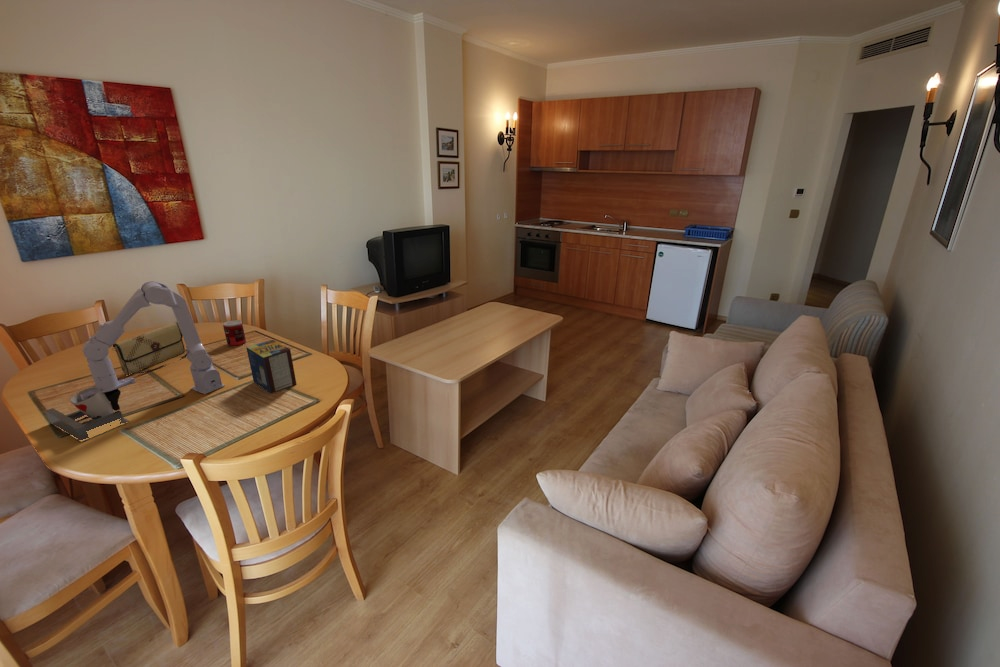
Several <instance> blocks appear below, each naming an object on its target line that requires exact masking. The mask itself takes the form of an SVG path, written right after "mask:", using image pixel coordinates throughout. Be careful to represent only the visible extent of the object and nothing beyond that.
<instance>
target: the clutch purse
mask: <svg viewBox="0 0 1000 667" xmlns="http://www.w3.org/2000/svg"><path fill="white" fill-rule="evenodd" d="M112 347H113V348H112ZM112 347H111V350H112V351H114V352H115V353H116V356H117V359H118V361H119V362H118V363H119V364H120V367H121V370H122V373H123V375H124V374H126V375H129V374H131V373H134V374H144V372H145V373H147V372H146V371H150V372H153V371H155V370H158V369H161V368H163V366H164V365H165V364H163V365H160V366H158V367H155V368H151V369H149V368H150V367H153V366H155V365H158V364H160V363H162V362H165V361H167V360H170V359H171V357H172V358H174V357H176V355H177V356H178V355H181V354H184V353H185V352H186V350H185V348H186V347H185V344H184V342H183V335H182V333H181V330H180V328H179V325H178V323H177V321H175V322H173V323H170V324H167V325H165V326H161V327H159V328H156V329H153V330H150V331H147V332H144V333H142V334H138V335H136V336H133V337H130V338H128V339H124V340H122V341H118V342H115V343H114V344H113V346H112ZM169 358H170V359H169ZM180 358H182V359H184V358H187V352H186V354H184V355H183V356H181V357H180ZM164 367H165V366H164ZM144 368H146V369H148V370H145V369H144ZM141 369H144V370H145V371H142V370H141ZM139 370H141V371H139ZM137 371H139V372H137ZM129 376H130V375H129Z"/></svg>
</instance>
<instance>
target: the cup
mask: <svg viewBox="0 0 1000 667" xmlns="http://www.w3.org/2000/svg"><path fill="white" fill-rule="evenodd" d="M94 388H95V389H96V385H94V386H90V387H87V388H84V389H82V390H80V391H78V392H77V393H75V394H74V395H73V396H72V397H71V398H70V401H69V402H70V403H71V404H72V405H73V406H74V407H75V408H77V409H78V411H79V410H80V411H81V412H83V413H84V414H85V415H87V416H88V417H87V418H89V419H90V418H91V419H93V420H95V419H98V418H101V417H103V416H106V415H108V414H111V413H114V410H113V409H112V406H111V403H110V401H109V400H108V398H107V397H106V395H105V394H104V393H102V392H101V391H102V390H101V389H100V388H99V391H98V392H97V393H96V394H95V395H94V396H92V397H91V398H89V399H87V400H85V401H83V400H82V399H81V397H80V394H83V393H85V392H88V391H90V390H92V389H94Z"/></svg>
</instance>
